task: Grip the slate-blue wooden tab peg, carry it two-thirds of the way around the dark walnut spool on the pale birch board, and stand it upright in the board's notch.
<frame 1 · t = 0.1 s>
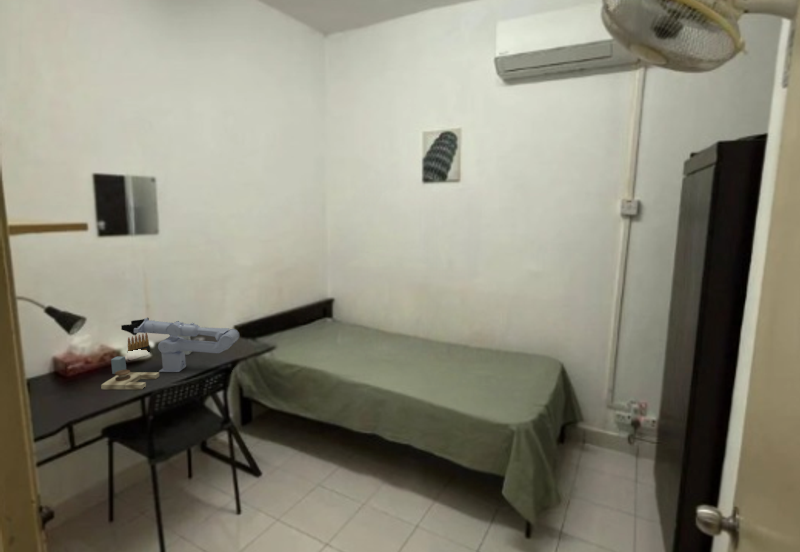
hand: (126, 325, 202), 22 cm above the table, tool horizontal, fingers open, 7 cm apart
skincare box: (184, 353, 227), on the table
ammunition clip: (139, 357, 221), on the table
tab peg: (119, 372, 201), on the table
notched board: (131, 382, 190), on the table
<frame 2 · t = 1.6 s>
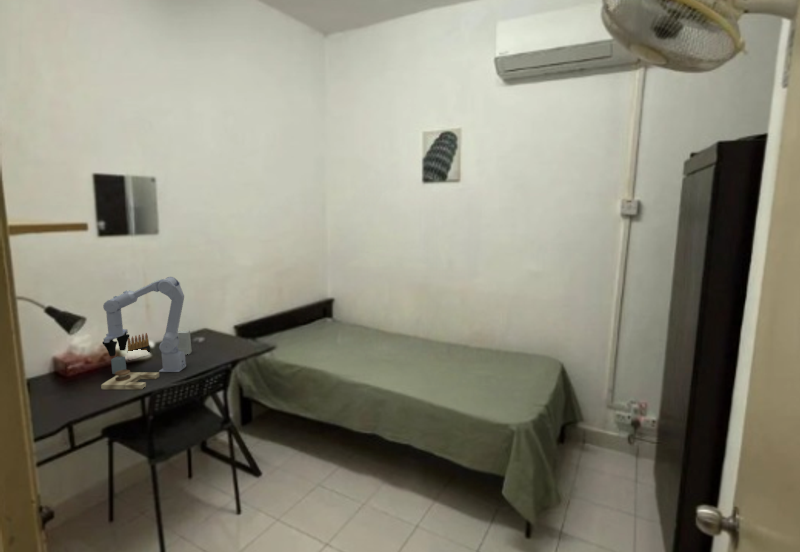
hand: (117, 352, 200), 9 cm above the table, tool pointing down, fingers open, 7 cm apart
nothing on the table moved.
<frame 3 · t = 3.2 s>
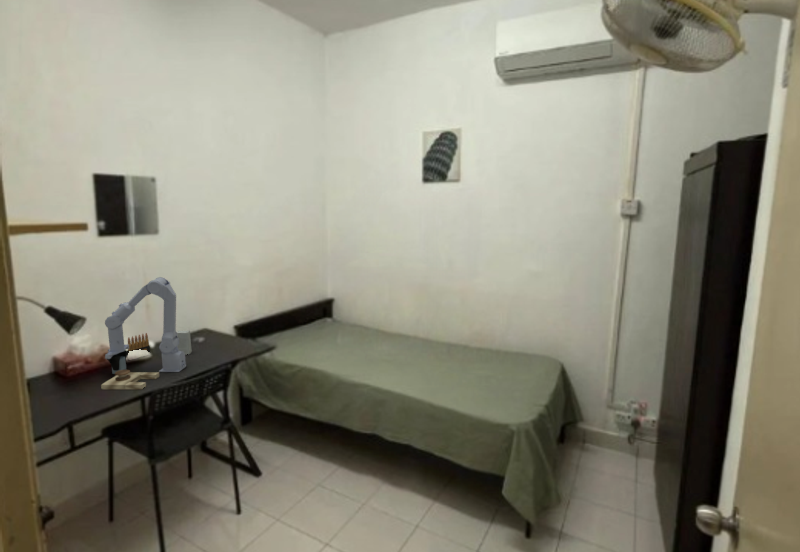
hand: (119, 368, 201), 2 cm above the table, tool pointing down, fingers closed on tab peg, 4 cm apart
tab peg: (119, 372, 201), on the table, touching gripper
everything else where it was.
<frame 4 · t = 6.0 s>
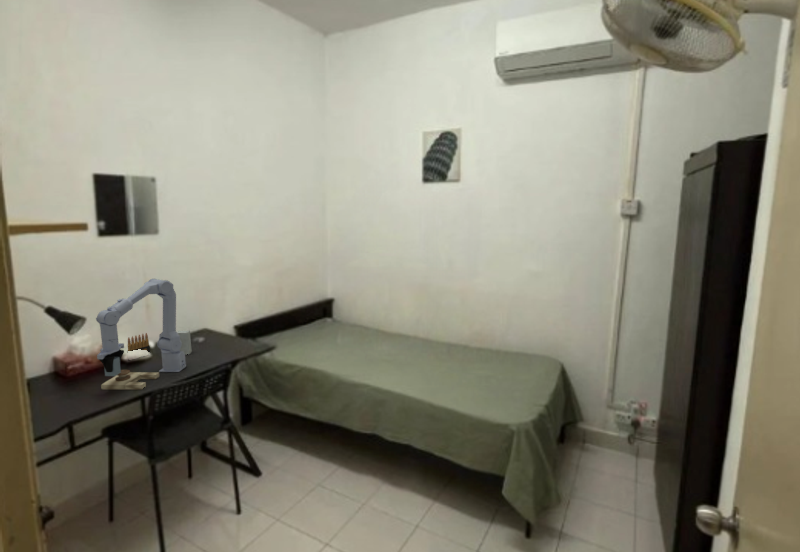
hand: (113, 369, 181), 9 cm above the table, tool pointing down, fingers closed on tab peg, 4 cm apart
tab peg: (113, 374, 181), point 7 cm above the table, touching gripper
everything else where it was.
when the fingers open (3 cm above the table, at t = 8.8 s): tab peg stays where it is, resting in notched board.
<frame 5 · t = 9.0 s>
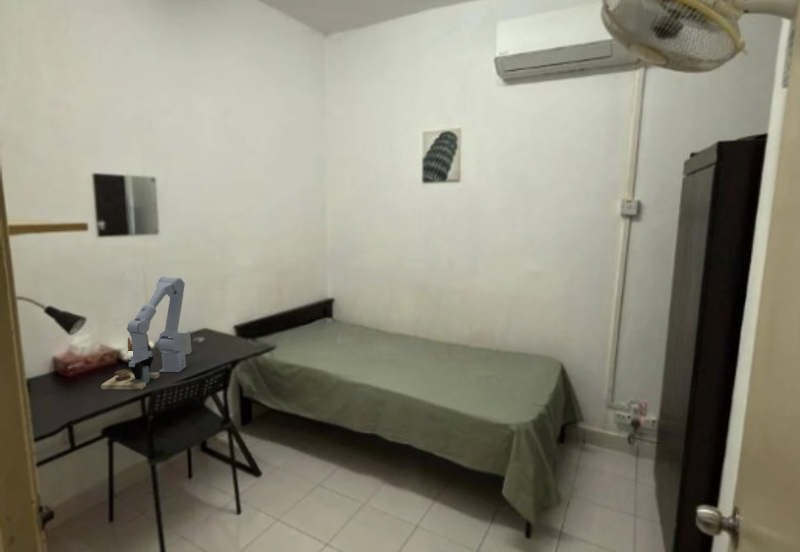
hand: (142, 376, 189), 3 cm above the table, tool pointing down, fingers open, 6 cm apart
tab peg: (142, 382, 190), resting in notched board
everything else where it was.
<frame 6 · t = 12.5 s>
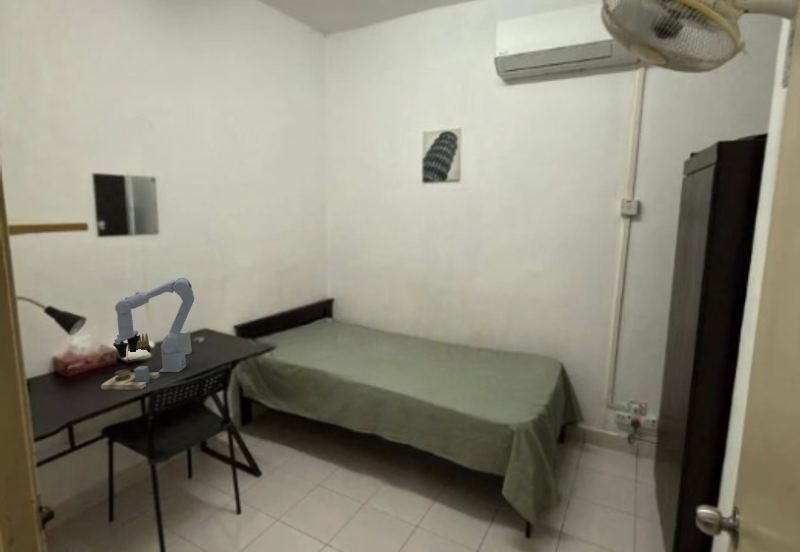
hand: (128, 354, 198), 9 cm above the table, tool pointing down, fingers open, 7 cm apart
nothing on the table moved.
at the end: tab peg 0.2 cm from the target spot on the notched board, point 0.0 cm above the notched board's base; tab peg tilted 0°; the gripper is holding nothing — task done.
